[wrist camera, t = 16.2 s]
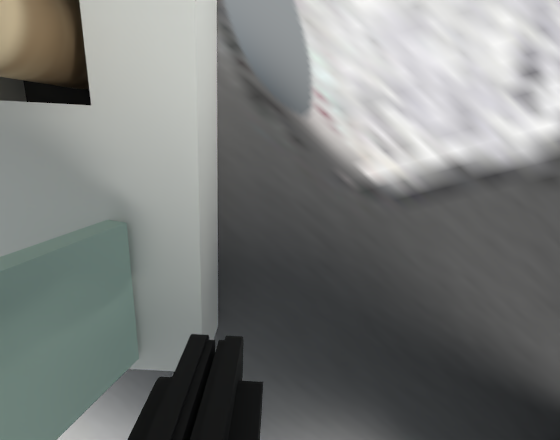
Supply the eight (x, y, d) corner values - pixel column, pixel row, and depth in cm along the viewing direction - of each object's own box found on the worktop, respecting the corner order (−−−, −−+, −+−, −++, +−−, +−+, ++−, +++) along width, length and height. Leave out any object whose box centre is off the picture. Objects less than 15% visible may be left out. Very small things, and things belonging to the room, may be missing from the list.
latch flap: (107, 219, 14) (126, 222, 14) (121, 353, 16) (139, 358, 16) (-122, 299, 8) (-94, 307, 7) (-49, 507, 10) (-25, 518, 9)
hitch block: (216, -57, 14) (191, -122, 11) (218, 325, 20) (202, 372, 16) (-96, -75, 14) (-233, -146, 11) (-4, 313, 20) (-72, 358, 16)
